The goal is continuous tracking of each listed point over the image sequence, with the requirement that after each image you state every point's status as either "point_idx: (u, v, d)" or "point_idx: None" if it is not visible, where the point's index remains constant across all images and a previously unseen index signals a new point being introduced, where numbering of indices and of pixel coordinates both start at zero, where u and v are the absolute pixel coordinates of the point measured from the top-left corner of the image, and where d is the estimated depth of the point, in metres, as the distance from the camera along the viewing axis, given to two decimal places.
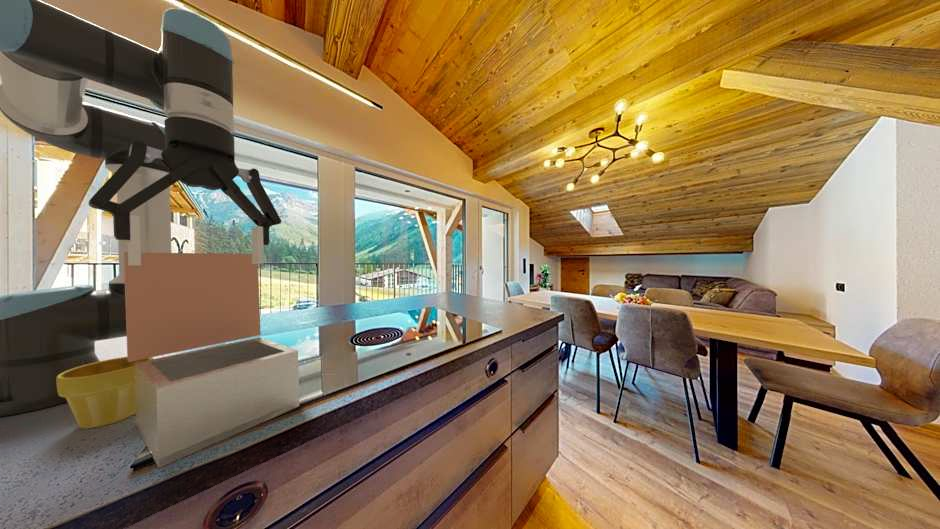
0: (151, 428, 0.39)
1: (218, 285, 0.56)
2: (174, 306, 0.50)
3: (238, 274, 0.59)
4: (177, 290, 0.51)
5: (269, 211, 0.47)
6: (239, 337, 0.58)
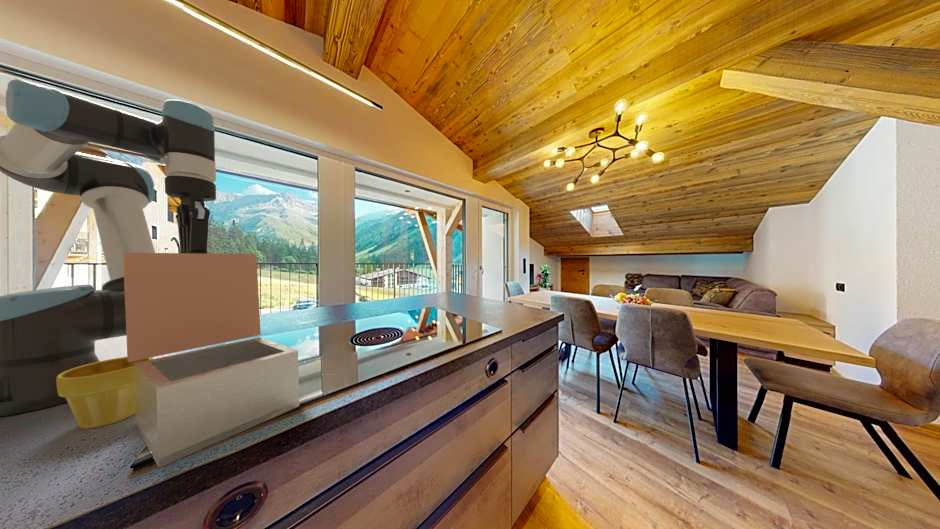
0: (151, 428, 0.39)
1: (217, 285, 0.56)
2: (174, 306, 0.51)
3: (237, 274, 0.59)
4: (176, 290, 0.51)
5: (189, 242, 0.54)
6: (239, 337, 0.58)
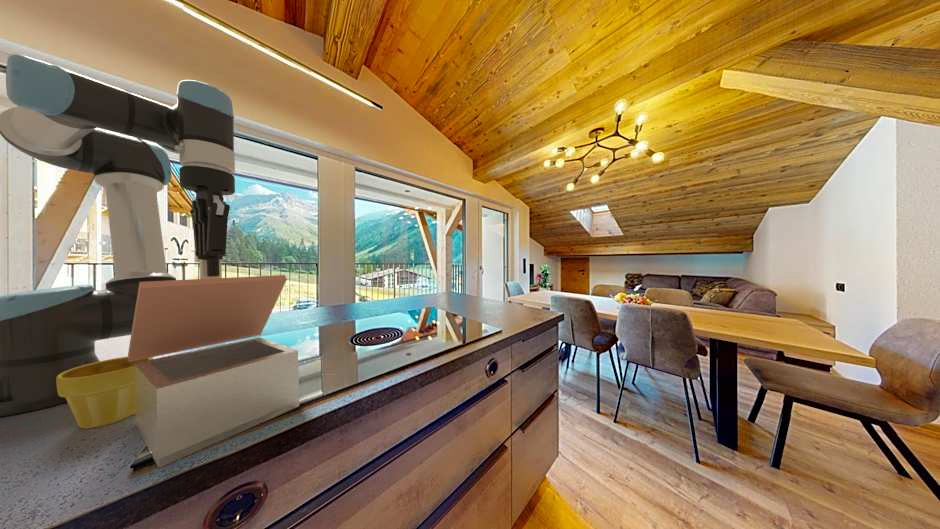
0: (151, 428, 0.39)
1: (235, 305, 0.51)
2: (184, 323, 0.47)
3: (258, 296, 0.53)
4: (190, 312, 0.46)
5: (206, 241, 0.48)
6: (240, 338, 0.58)
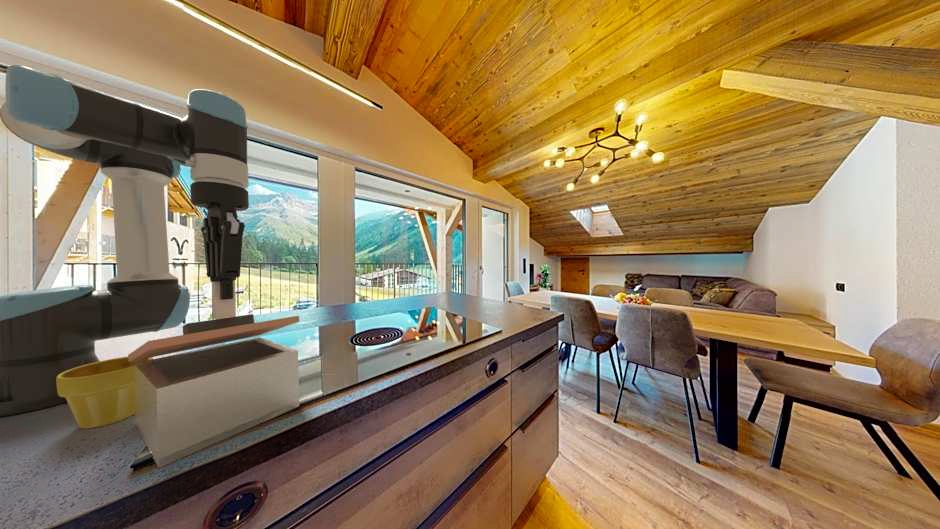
0: (151, 428, 0.39)
1: (241, 335, 0.49)
2: (188, 346, 0.46)
3: (267, 329, 0.51)
4: (196, 343, 0.45)
5: (220, 262, 0.45)
6: None
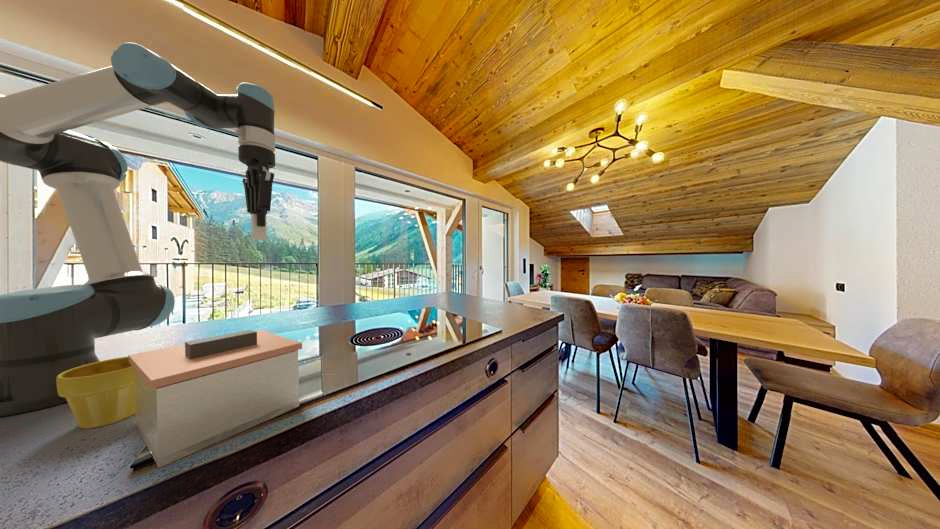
0: (151, 428, 0.39)
1: None
2: None
3: None
4: None
5: (258, 199, 0.67)
6: None
